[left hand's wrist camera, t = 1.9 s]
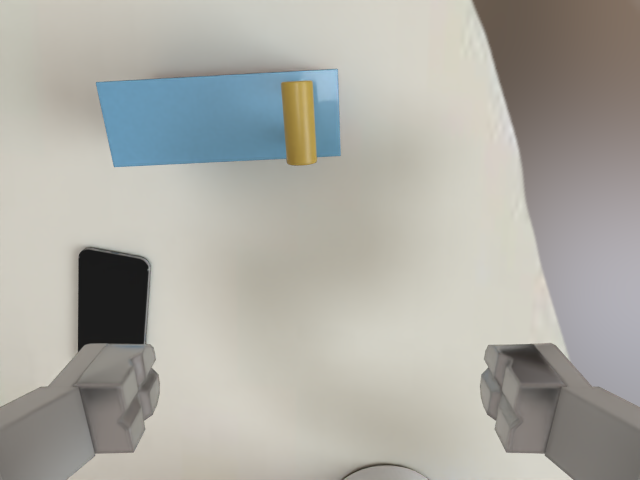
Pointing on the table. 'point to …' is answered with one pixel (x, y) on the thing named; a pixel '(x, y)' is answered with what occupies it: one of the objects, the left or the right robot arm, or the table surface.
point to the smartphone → (112, 298)
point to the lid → (223, 118)
